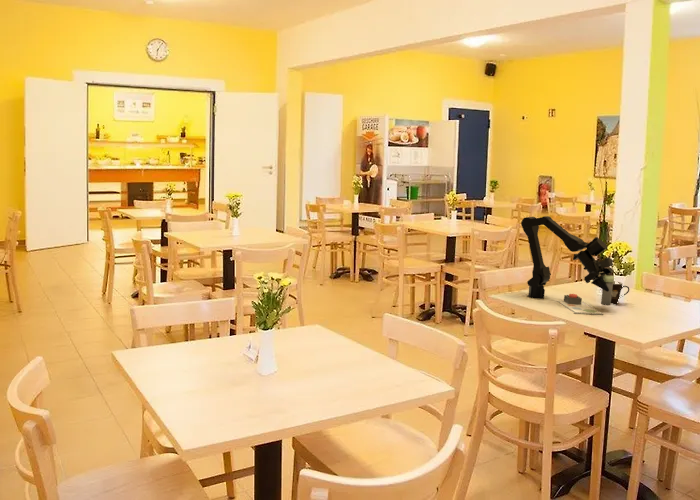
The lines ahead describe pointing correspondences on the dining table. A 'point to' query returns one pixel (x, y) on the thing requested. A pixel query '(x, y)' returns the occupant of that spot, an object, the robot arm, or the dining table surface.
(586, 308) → the colouring board
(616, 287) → the coffee mug
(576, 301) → the button housing
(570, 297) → the button
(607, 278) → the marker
